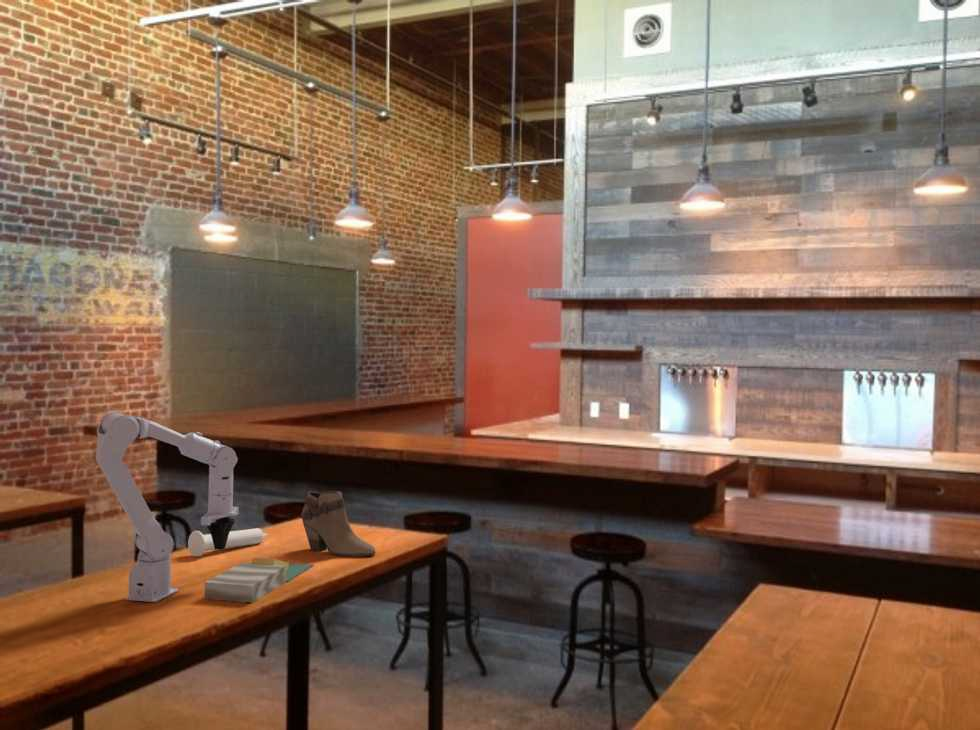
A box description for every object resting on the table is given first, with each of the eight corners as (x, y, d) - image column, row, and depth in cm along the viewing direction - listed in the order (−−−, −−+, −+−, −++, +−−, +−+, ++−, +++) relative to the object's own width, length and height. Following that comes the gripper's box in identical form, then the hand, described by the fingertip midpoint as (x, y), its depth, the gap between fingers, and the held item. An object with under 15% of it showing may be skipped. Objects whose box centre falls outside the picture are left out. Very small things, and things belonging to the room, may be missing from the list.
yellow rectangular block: (273, 567, 217) (274, 559, 218) (251, 565, 218) (252, 557, 219) (287, 570, 225) (288, 563, 226) (266, 569, 226) (267, 561, 227)
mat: (287, 582, 216) (287, 580, 216) (239, 578, 219) (239, 577, 219) (313, 565, 232) (313, 564, 232) (268, 562, 235) (268, 561, 235)
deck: (252, 603, 199) (252, 585, 199) (204, 599, 201) (204, 582, 201) (286, 581, 216) (286, 565, 216) (241, 578, 219) (241, 562, 219)
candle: (190, 527, 241) (262, 519, 261) (185, 551, 241) (257, 541, 262) (205, 536, 237) (277, 527, 257) (200, 561, 237) (272, 550, 258)
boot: (368, 559, 240) (369, 497, 239) (293, 551, 247) (293, 491, 246) (381, 552, 248) (381, 492, 247) (308, 545, 255) (308, 486, 254)
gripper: (220, 499, 205) (219, 557, 205) (249, 490, 219) (248, 543, 219) (193, 498, 206) (192, 554, 207) (224, 488, 220) (223, 541, 221)
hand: (219, 548), depth 213 cm, fingers closed
